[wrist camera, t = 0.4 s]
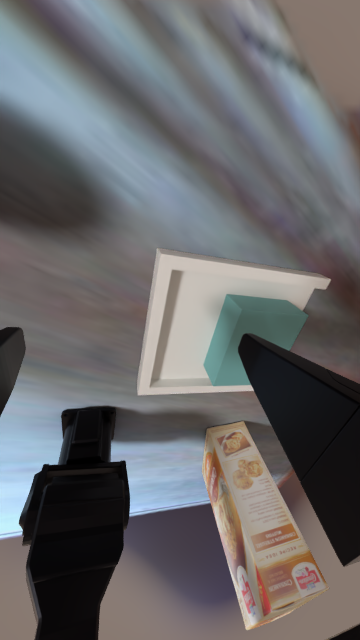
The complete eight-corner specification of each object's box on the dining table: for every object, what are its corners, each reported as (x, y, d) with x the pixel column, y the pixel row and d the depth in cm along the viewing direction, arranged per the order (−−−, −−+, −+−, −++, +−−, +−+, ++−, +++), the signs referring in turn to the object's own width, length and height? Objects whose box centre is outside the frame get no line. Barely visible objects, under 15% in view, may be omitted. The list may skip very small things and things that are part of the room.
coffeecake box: (205, 427, 37) (271, 615, 21) (244, 419, 39) (334, 589, 23) (200, 472, 45) (245, 634, 29) (232, 463, 47) (293, 613, 30)
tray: (262, 379, 34) (270, 389, 32) (136, 382, 28) (137, 395, 27) (317, 273, 26) (331, 279, 24) (157, 247, 20) (160, 253, 19)
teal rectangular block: (256, 365, 31) (270, 384, 28) (203, 365, 29) (212, 386, 26) (287, 300, 26) (308, 315, 23) (226, 293, 24) (241, 309, 21)
